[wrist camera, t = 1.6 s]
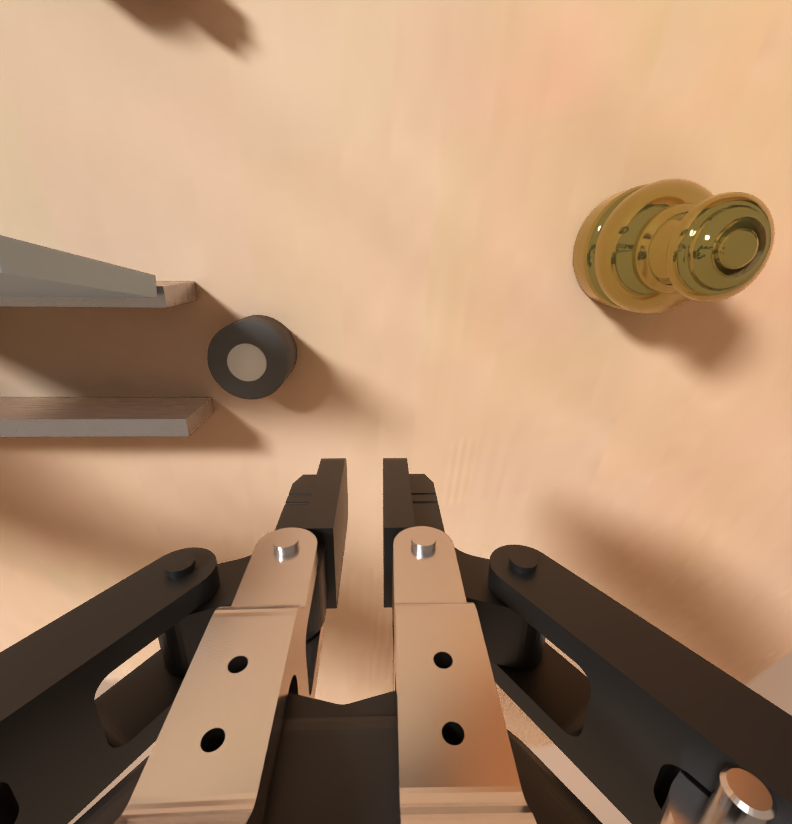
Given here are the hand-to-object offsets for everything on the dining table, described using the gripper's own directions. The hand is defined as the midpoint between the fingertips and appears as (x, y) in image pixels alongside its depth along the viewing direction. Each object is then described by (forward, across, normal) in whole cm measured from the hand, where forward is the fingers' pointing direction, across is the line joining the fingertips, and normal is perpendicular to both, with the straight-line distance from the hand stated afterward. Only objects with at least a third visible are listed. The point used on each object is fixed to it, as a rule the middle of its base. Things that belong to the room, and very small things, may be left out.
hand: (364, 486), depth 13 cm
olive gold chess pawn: (+19, -17, -7) cm, 27 cm away
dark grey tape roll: (+19, +8, 0) cm, 21 cm away
